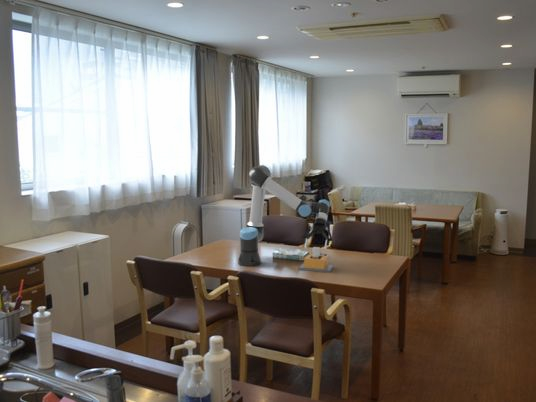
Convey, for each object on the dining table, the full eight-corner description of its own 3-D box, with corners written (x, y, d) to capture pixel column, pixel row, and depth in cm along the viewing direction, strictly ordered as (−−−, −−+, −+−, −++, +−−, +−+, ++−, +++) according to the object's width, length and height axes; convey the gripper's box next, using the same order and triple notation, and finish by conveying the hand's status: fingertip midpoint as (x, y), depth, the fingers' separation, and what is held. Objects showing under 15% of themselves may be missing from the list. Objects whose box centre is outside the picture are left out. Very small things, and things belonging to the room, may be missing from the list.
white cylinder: (312, 266, 319) (312, 248, 317) (313, 265, 323) (313, 247, 321) (318, 267, 318) (318, 248, 316) (319, 265, 321) (320, 247, 320)
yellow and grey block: (298, 269, 318) (298, 258, 317) (303, 265, 329) (303, 253, 328) (329, 272, 311) (329, 260, 310) (333, 267, 323) (333, 256, 322)
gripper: (340, 225, 327) (335, 253, 315) (303, 223, 335) (297, 250, 323) (338, 218, 322) (333, 246, 309) (301, 216, 330) (295, 244, 317)
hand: (315, 248), depth 316 cm, fingers open, 12 cm apart
